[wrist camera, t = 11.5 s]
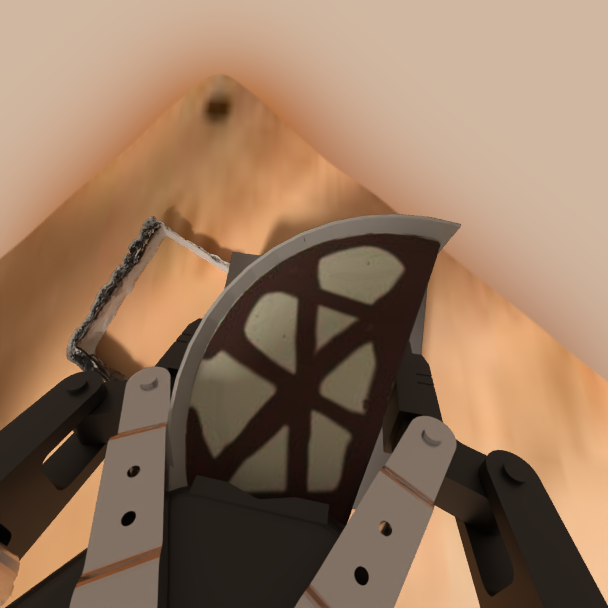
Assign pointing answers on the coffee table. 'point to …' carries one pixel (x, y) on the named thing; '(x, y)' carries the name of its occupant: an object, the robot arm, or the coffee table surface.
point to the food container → (303, 361)
